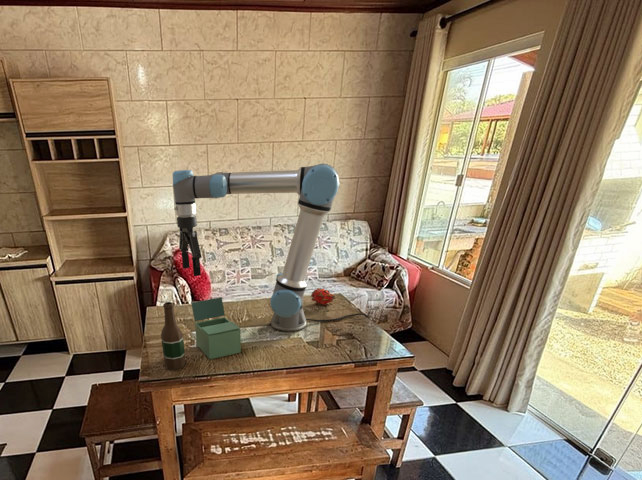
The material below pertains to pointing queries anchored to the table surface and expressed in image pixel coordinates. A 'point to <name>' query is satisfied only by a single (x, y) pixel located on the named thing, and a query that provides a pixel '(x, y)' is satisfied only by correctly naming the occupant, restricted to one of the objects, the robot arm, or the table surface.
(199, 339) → the container
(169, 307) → the beer bottle
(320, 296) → the dragon fruit
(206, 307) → the flap
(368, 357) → the table surface
